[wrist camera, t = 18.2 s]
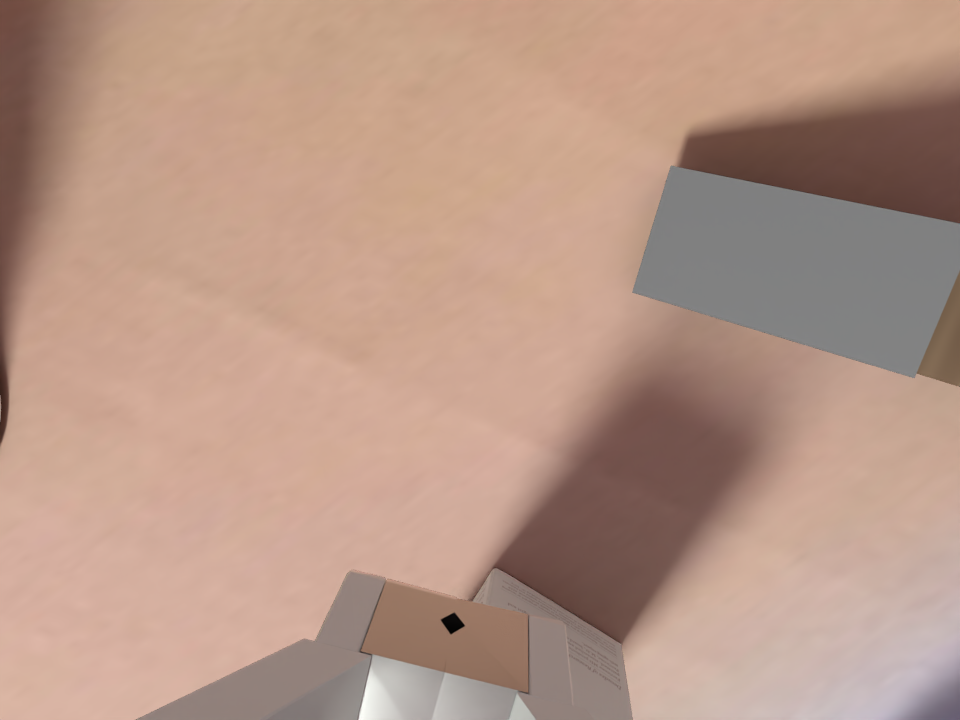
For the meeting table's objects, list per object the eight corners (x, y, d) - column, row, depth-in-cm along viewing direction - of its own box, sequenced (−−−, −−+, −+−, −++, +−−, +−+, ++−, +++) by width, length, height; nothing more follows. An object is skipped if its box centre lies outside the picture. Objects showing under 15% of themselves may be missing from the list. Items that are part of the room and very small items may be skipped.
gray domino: (632, 292, 27) (914, 378, 22) (670, 165, 26) (977, 227, 21) (644, 292, 28) (913, 373, 23) (682, 172, 27) (973, 231, 22)
